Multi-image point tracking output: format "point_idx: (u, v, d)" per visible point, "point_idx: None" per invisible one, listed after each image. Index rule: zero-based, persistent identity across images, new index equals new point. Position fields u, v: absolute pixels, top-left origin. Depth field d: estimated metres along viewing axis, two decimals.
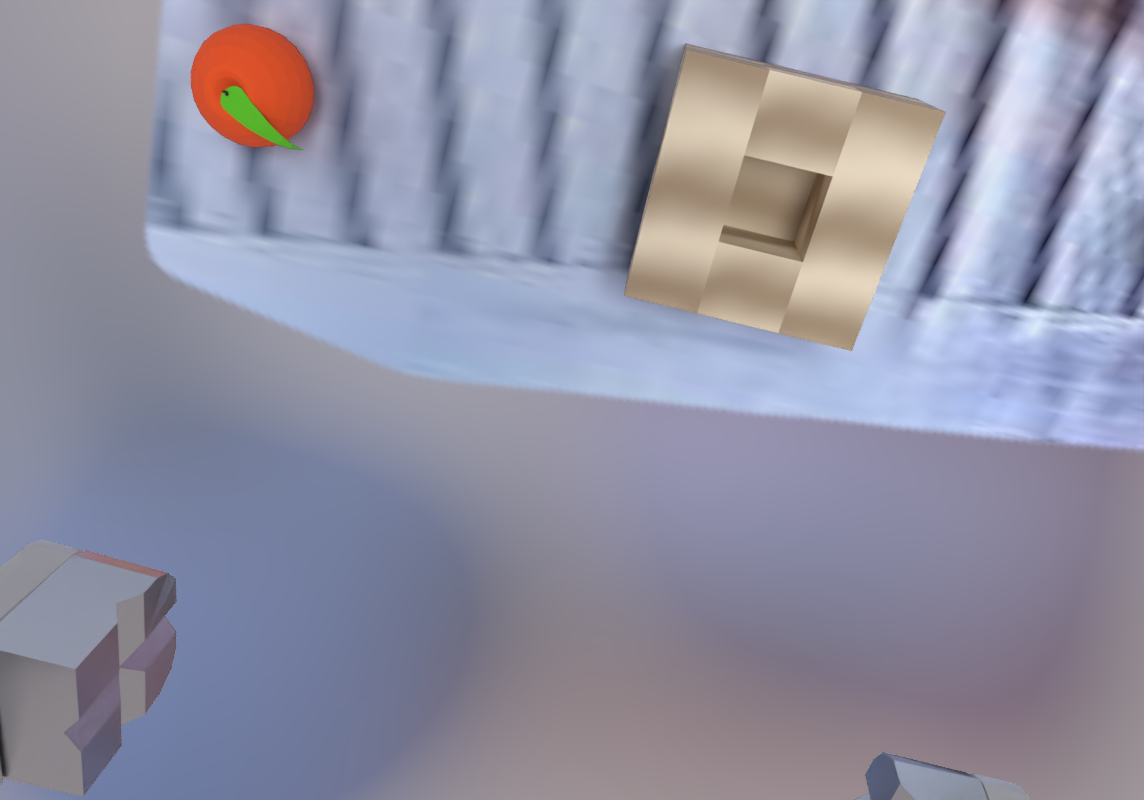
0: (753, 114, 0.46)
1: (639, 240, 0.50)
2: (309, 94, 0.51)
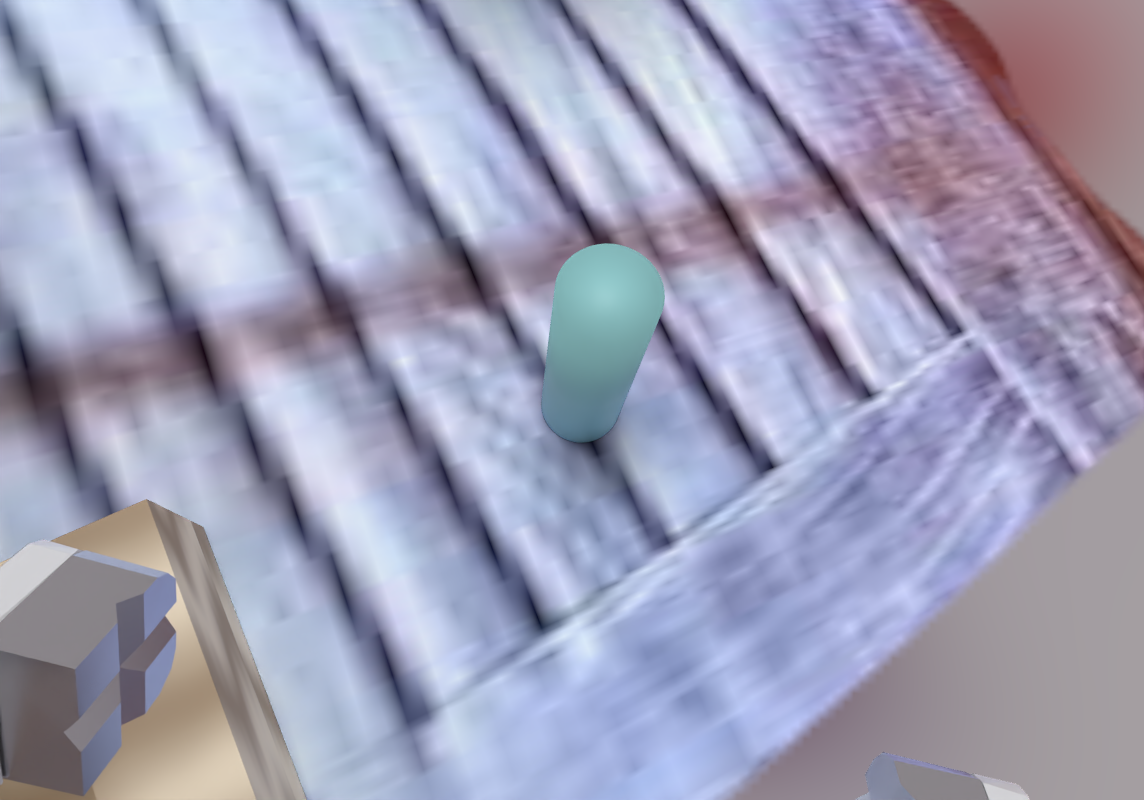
0: None
1: None
2: None
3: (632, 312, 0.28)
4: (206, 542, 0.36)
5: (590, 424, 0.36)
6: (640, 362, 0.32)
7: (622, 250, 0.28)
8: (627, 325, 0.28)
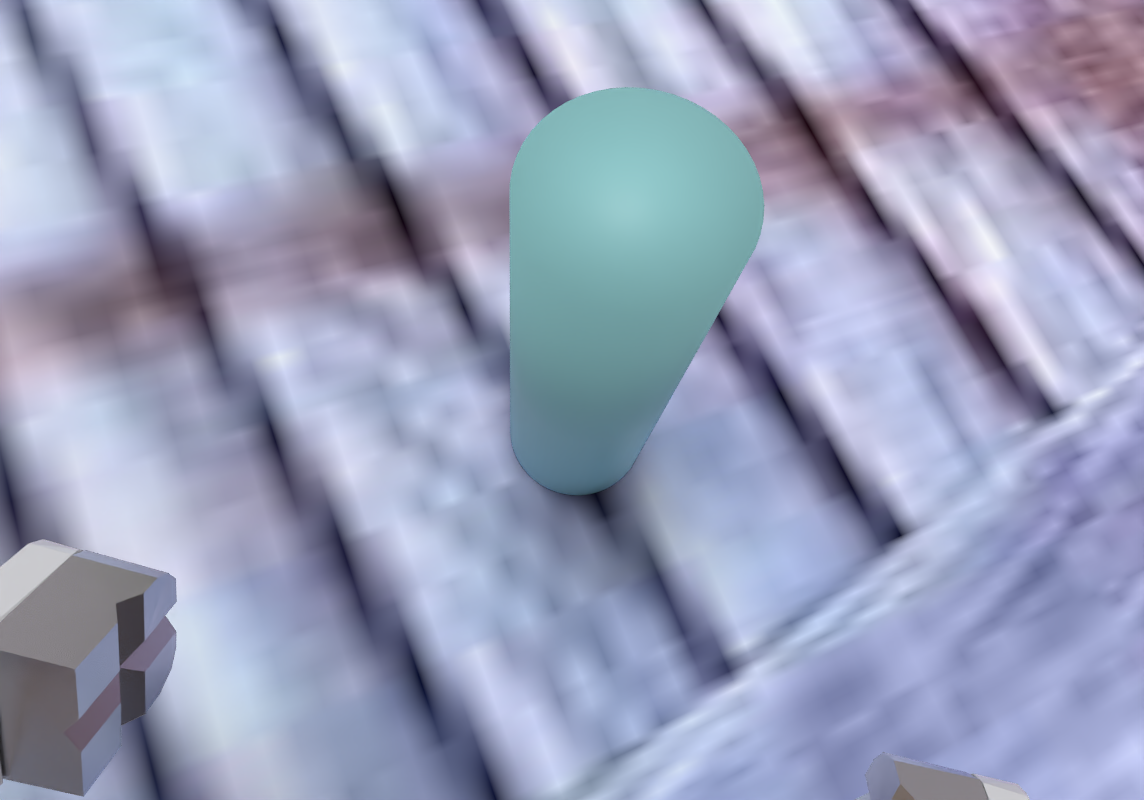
0: None
1: None
2: None
3: (691, 239, 0.12)
4: None
5: (593, 470, 0.20)
6: None
7: (664, 102, 0.13)
8: (680, 268, 0.12)
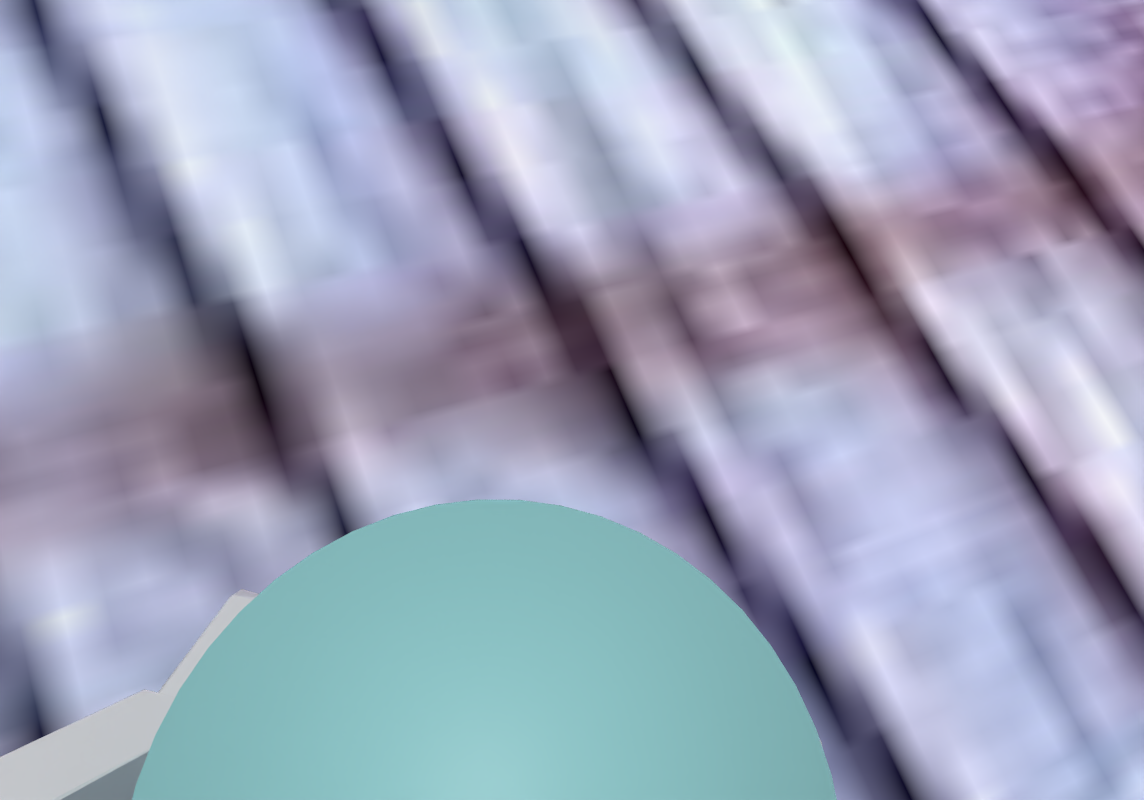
0: None
1: None
2: None
3: None
4: None
5: None
6: None
7: (577, 543, 0.05)
8: None
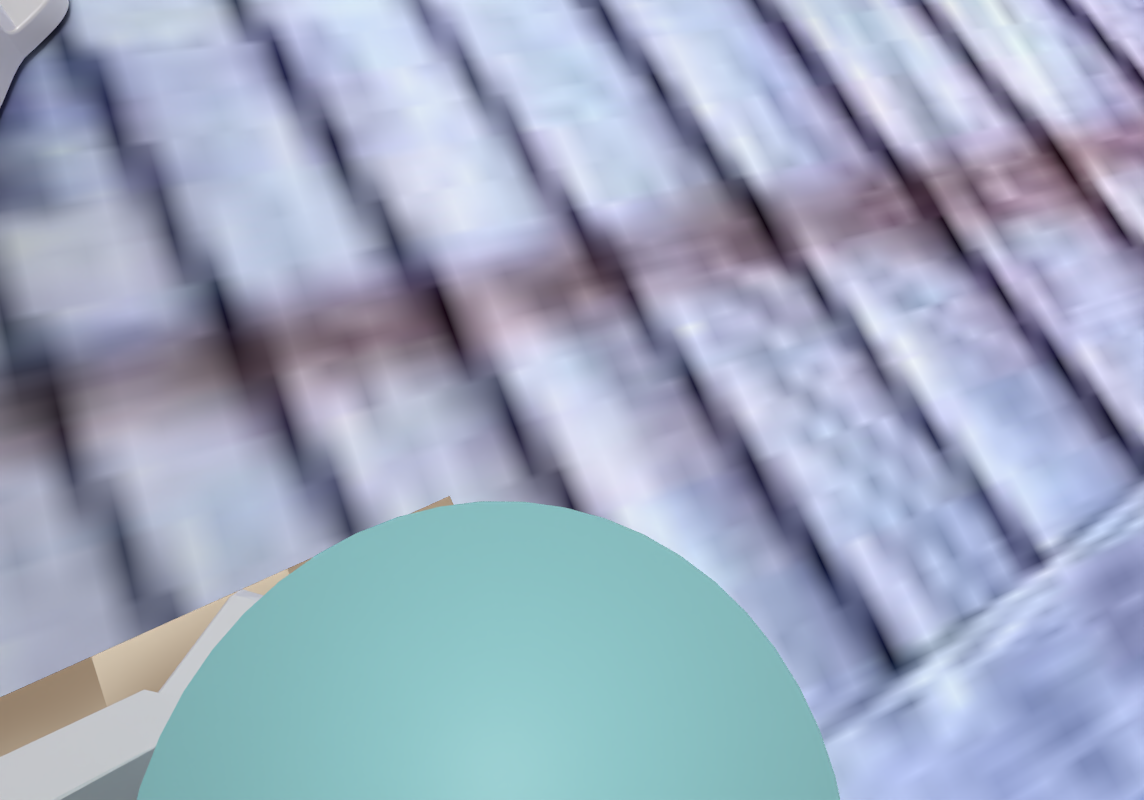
0: None
1: None
2: None
3: None
4: None
5: None
6: None
7: (580, 545, 0.05)
8: None
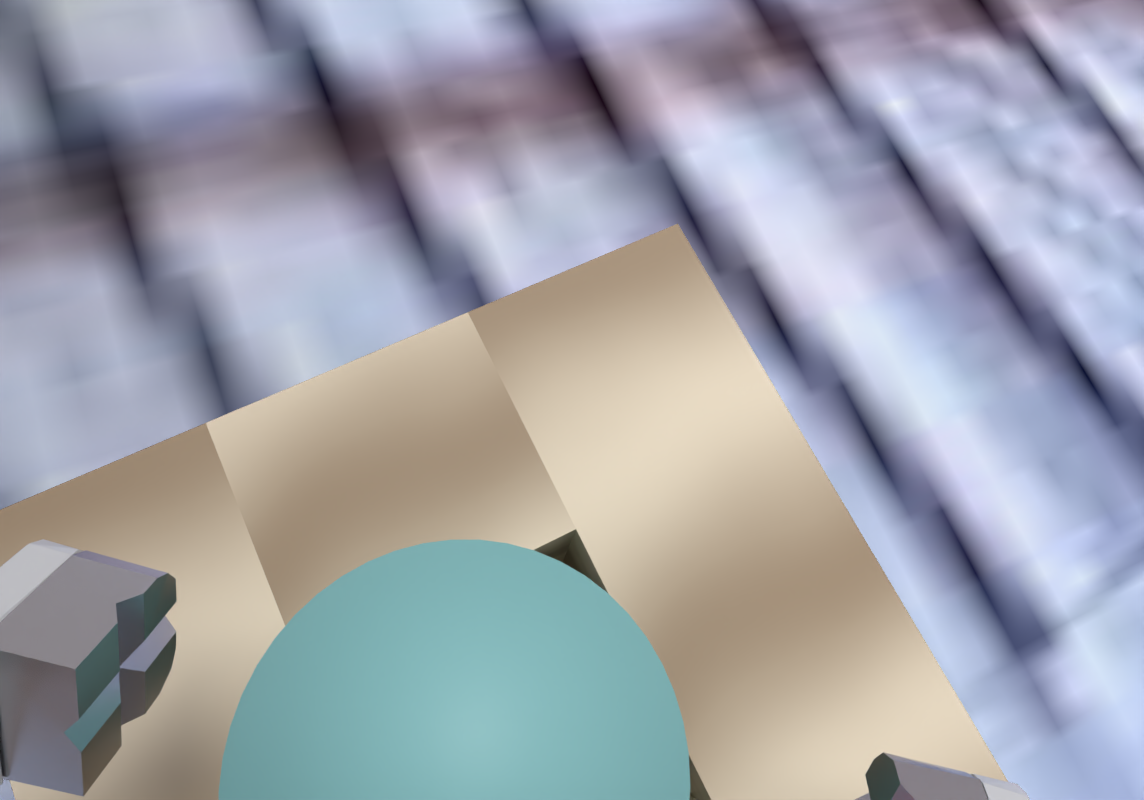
0: (244, 547, 0.14)
1: None
2: None
3: None
4: None
5: None
6: None
7: (517, 569, 0.07)
8: None
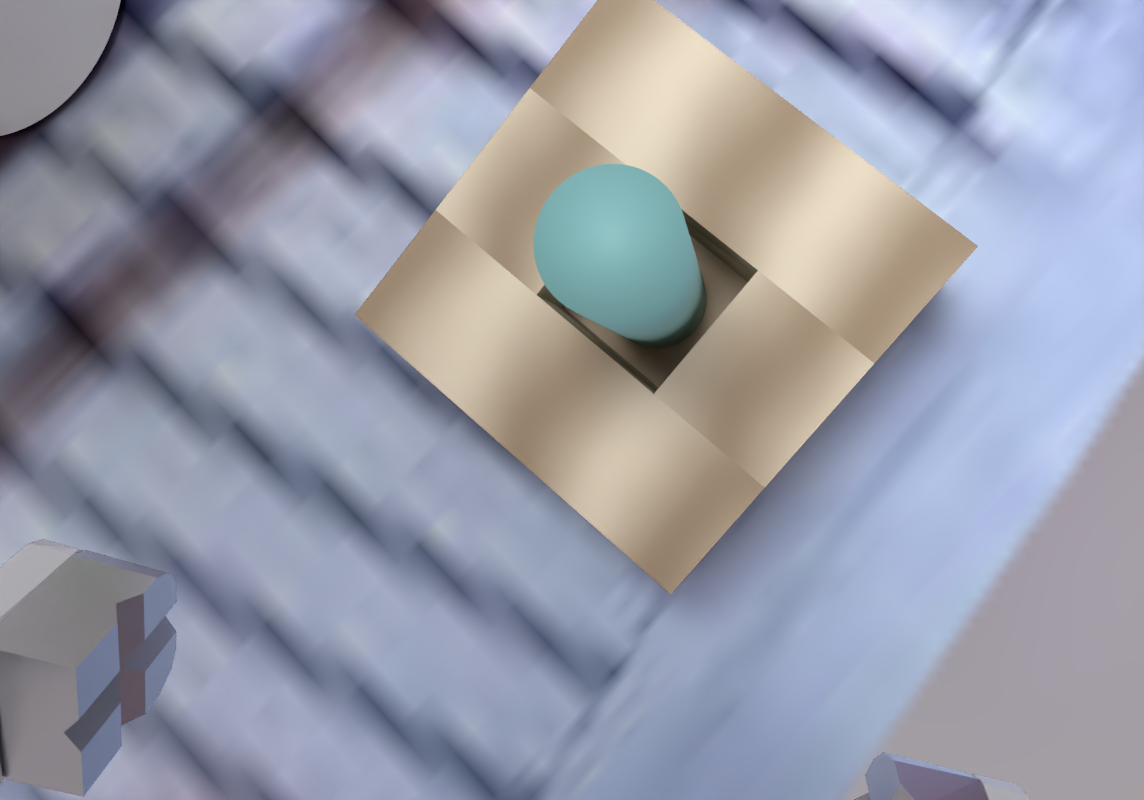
0: (484, 257, 0.28)
1: (589, 519, 0.28)
2: None
3: (649, 254, 0.20)
4: None
5: (675, 335, 0.29)
6: (695, 271, 0.23)
7: (599, 173, 0.20)
8: (650, 275, 0.20)
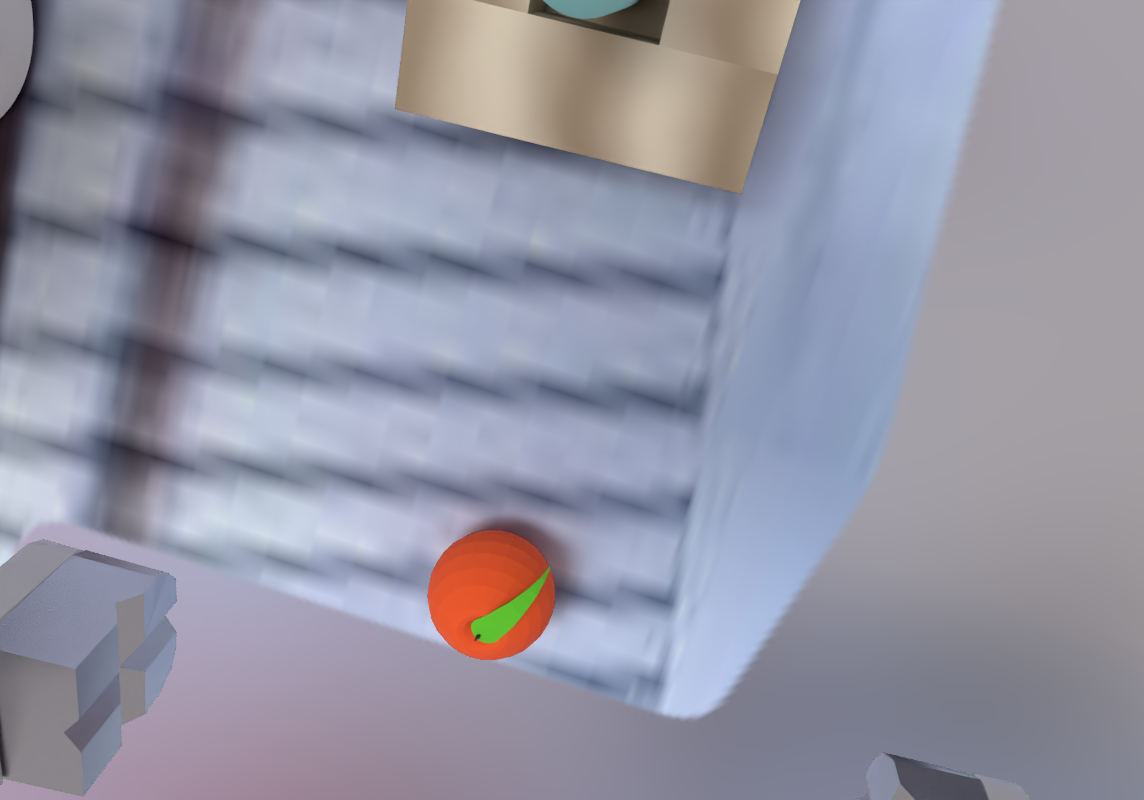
0: (470, 4, 0.32)
1: (655, 170, 0.34)
2: (496, 543, 0.45)
3: None
4: None
5: None
6: None
7: None
8: None
